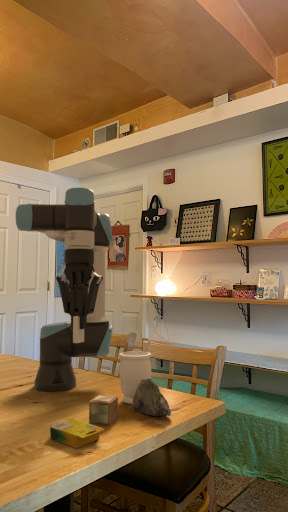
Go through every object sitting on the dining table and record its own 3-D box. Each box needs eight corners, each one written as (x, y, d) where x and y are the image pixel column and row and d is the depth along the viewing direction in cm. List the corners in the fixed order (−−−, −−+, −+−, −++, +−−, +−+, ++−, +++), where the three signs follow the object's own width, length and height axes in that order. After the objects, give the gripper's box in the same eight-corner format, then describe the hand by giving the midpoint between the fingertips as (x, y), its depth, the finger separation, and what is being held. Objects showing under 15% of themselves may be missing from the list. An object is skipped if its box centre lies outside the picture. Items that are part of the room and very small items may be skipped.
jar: (148, 406, 119) (147, 356, 121) (115, 404, 121) (115, 355, 123) (154, 397, 130) (153, 351, 131) (123, 395, 132) (123, 350, 133)
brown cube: (88, 424, 104) (89, 400, 104) (97, 417, 110) (97, 394, 110) (110, 426, 102) (110, 402, 103) (117, 419, 108) (117, 396, 109)
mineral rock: (172, 422, 105) (171, 384, 106) (132, 423, 105) (132, 384, 106) (167, 408, 118) (167, 374, 119) (132, 408, 118) (132, 374, 119)
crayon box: (49, 438, 94) (81, 451, 87) (49, 426, 95) (81, 437, 87) (73, 430, 100) (105, 441, 92) (73, 418, 100) (105, 428, 93)
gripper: (49, 248, 100) (48, 342, 98) (92, 246, 94) (92, 346, 92) (67, 250, 106) (66, 338, 105) (108, 248, 101) (108, 341, 99)
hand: (78, 342), depth 98 cm, fingers closed
